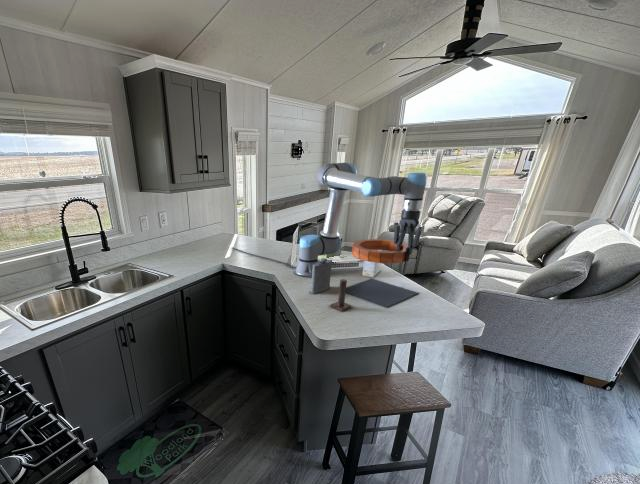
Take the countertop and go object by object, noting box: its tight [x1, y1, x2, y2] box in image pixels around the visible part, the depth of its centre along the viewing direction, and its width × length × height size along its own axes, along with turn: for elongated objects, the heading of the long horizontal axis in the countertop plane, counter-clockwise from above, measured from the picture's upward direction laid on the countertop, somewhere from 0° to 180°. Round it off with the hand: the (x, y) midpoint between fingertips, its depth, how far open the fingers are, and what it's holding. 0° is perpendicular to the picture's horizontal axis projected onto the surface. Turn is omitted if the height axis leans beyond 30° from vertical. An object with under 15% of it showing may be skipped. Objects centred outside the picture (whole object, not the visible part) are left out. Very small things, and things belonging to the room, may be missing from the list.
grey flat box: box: [310, 258, 333, 295], centre depth 177 cm, size 4×14×18 cm, turn 129°
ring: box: [351, 238, 412, 264], centre depth 164 cm, size 27×27×5 cm
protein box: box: [318, 237, 343, 258], centre depth 227 cm, size 10×16×16 cm
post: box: [330, 278, 352, 312], centre depth 157 cm, size 7×7×14 cm
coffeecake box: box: [362, 250, 384, 278], centre depth 199 cm, size 15×7×20 cm, turn 145°
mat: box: [345, 278, 419, 308], centre depth 176 cm, size 28×28×1 cm
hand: (402, 259), depth 156 cm, fingers closed on ring, 3 cm apart
